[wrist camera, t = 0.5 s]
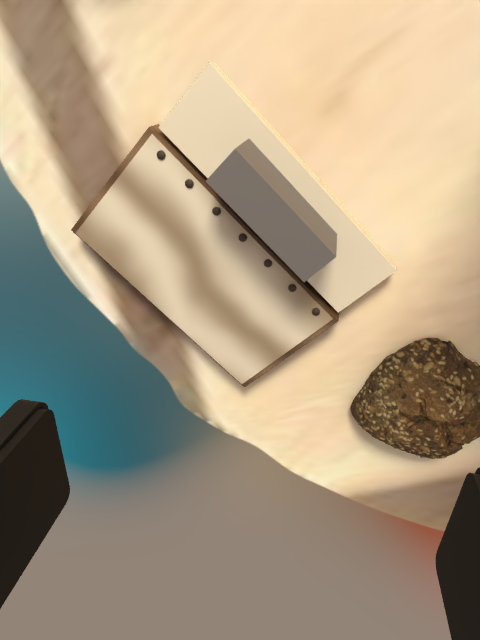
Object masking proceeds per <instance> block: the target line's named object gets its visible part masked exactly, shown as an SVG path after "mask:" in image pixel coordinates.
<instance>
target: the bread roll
mask: <svg viewBox="0 0 480 640" xmlns="http://www.w3.org/2000/svg"><path fill="white" fill-rule="evenodd" d="M351 412H352V415H353V417H354V418H355V420H356V421H357V422H358V424H359V425H360V426H361V427H362V428H363V429H364V430H366V431H367V432H368V433H369V434H371V436H372V437H374V438H376V439H378V440H380V441H383V442H385V443H386V444H388V445H391V446H392V447H394V448H398V449H400V450H402V451H406V452H408V453H412V454H415V455H420V457H427V458H431V459H435V458H445V457H447V456H449V455H452V454H455V453H456V452H457V451H459V450H460V449H462V445H464V443H468V444H469V443H470V442H471V441H472V440H474V439H477V438H478V437H480V366H479V365H478V364H477V363H476V362H472V361H470V360H468V359H466V358H465V357H464V356H463V355H462V354H461V353H460V352H459V351H457V349H456V347H455V346H454V345H453V344H452V343H451V342H450V341H449V342H445V341H440V340H439V339H437V338H426V339H421V340H419V341H414V342H413V343H411V344H409V345H407V346H405V347H404V348H402V349H400V350H398V351H397V352H396V353H395V354H391V355H389V356H387V357H386V358H385V359H384V360H383V362H382V363H381V364H379V366H378V367H377V368H376V369H375V370H374V371H373V372H372V373H371V375H370V377H369V378H368V380H367V381H366V383H365V386H364V387H363V388H362V389H361V390H360V392H359V393H358V394H357V396H356V397H355V399H354V400H353V403H352V405H351Z"/></svg>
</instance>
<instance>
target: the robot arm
mask: <svg viewBox="0 0 480 640" xmlns="http://www.w3.org/2000/svg"><path fill="white" fill-rule="evenodd" d="M69 493H70V486H69V481H68V477H67V472H66V468H65V463H64V459H63V454H62V449H61V445H60V440H59V435H58V431H57V426H56V422H55V417H54V413H53V411H52V410H49V409H48V406H47V405H46V404H45V403H43V402H36V401H29V400H23V399H21V400H18V401H17V402H15V403H14V404H13V405H12V406H11V407H10V408H9V409H8V410H7V411H6V412H5V414H4V415H2V416H1V417H0V608H1V607H2V605H3V604H4V602H5V600H6V599H7V597H8V596H9V594H10V592H11V591H12V589H13V588H14V586H15V584H16V583H17V581H18V580H19V578H20V576H21V575H22V573H23V571H24V570H25V568H26V567H27V565H28V563H29V562H30V560H31V559H32V557H33V556H34V554H35V552H36V551H37V549H38V547H39V546H40V544H41V543H42V541H43V539H44V538H45V536H46V535H47V533H48V531H49V530H50V528H51V526H52V525H53V523H54V522H55V520H56V519H57V517H58V515H59V514H60V512H61V511H62V509H63V507H64V506H65V504H66V502H67V500H68V498H69ZM436 570H437V575H438V580H439V584H440V588H441V593H442V598H443V602H444V607H445V611H446V615H447V620H448V624H449V629H450V634H451V638H452V640H480V468H478V469H477V471H476V472H475V474H474V473H469V474H467V476H466V478H465V481H464V483H463V486H462V489H461V491H460V494H459V496H458V499H457V501H456V504H455V507H454V509H453V512H452V514H451V517H450V519H449V522H448V524H447V527H446V530H445V532H444V535H443V537H442V540H441V542H440V545H439V547H438V550H437V553H436Z"/></svg>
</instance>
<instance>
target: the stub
mask: <svg viewBox="0 0 480 640" xmlns="http://www.w3.org/2000/svg"><path fill="white" fill-rule="evenodd" d="M159 129H160V130H161V131H162V132H163V133H164V134H165V135H166V136H167V137H168V138H169V139H170V140H171V141H172V142H173V143H174V144H175V145H176V146H177V147H178V148H179V149H180V150H181V151H182V152H183V154H184V155H185V156H186V157H187V158H188V159H189V160H190V161H191V162H192V163H193V164H194V165H195V166H196V167H197V168H198V169H199V170H200V171H201V172H202V173H203V174H204V175H205V176H206V177H207V178H208V179H207V180H206V182H207V183H208V184H209V185H210V186H211V187H212V189H213V190H214V191H215V192H216V193H217V194H218V195H219V196H220V197H221V198H222V199H223V200H224V201H225V202H226V203H227V204H228V205H229V206H230V207H231V208H232V209H233V210H234V211H235V212H236V213H237V214H238V215H239V216H240V217H241V218H242V219H243V220H244V221H245V222H246V223H247V224H248V225H249V226H250V227H251V229H252V230H253V231H254V232H255V233H256V234H257V235H258V236H259V237H260V238H261V239H262V240H263V241H264V242H265V243H266V244H267V245H268V246H269V247H270V248H271V249H272V250H273V251H274V252H275V253H276V254H277V255H278V256H279V257H280V258H281V259H282V260H283V261H284V262H285V263H286V264H287V265H288V266H289V267H290V269H291V270H292V271H293V272H294V273H295V274H296V275H297V276H298V277H299V278H300V279H301V280H302V281H303V282H305V281H308V282H309V283H310V284H311V285H312V286H313V287H314V288H315V289H316V290H317V291H318V292H319V293H320V295H321V296H322V297H323V298H324V299H325V300H326V301H327V302H328V303H329V304H330V305H331V306H332V307H333V308H334V309H335V310H336V311H337V312H338V313H339V312H340V311H341V310H343V309H344V308H345V307H347V306H348V305H350V304H351V303H352V302H354V301H355V300H357V299H358V298H359V297H361V296H362V295H364V294H365V293H366V292H368V291H369V290H370V289H372V288H373V287H375V286H376V285H377V284H379V283H380V282H382V281H383V280H384V279H386V278H387V277H389V276H390V275H391V274H393V273H394V272H395V271H397V270H396V267H395V263H394V262H393V261H392V260H391V259H390V258H389V256H388V255H387V254H386V253H385V252H384V251H383V250H382V249H381V247H380V246H379V245H378V244H377V243H376V242H375V241H374V240H373V239H372V237H371V236H370V235H369V234H368V233H367V232H366V231H365V230H364V229H363V227H362V226H361V225H360V224H359V223H358V222H357V221H356V220H355V219H354V217H353V216H352V215H351V214H350V213H349V212H348V211H347V210H346V209H345V207H344V206H343V205H342V204H341V203H340V202H339V201H338V200H337V198H336V197H335V196H334V195H333V194H332V193H331V192H330V191H329V190H328V188H327V187H326V186H325V185H324V184H323V183H322V182H321V181H320V180H319V178H318V177H317V176H316V175H315V174H314V173H313V172H312V171H311V170H310V168H309V167H308V166H307V165H306V164H305V163H304V162H303V161H302V160H301V158H300V157H299V156H298V155H297V154H296V153H295V152H294V151H293V149H292V148H291V147H290V146H289V145H288V144H287V143H286V142H285V141H284V139H283V138H282V137H281V136H280V135H279V134H278V133H277V132H276V131H275V129H274V128H273V127H272V126H271V125H270V124H269V123H268V122H267V121H266V119H265V118H264V117H263V116H262V115H261V114H260V113H259V112H258V111H257V109H256V108H255V107H254V106H253V105H252V104H251V103H250V102H249V100H248V99H247V98H246V97H245V96H244V95H243V94H242V93H241V92H240V90H239V89H238V88H237V87H236V86H235V85H234V84H233V83H232V82H231V80H230V79H229V78H228V77H227V76H226V75H225V74H224V73H223V72H222V70H221V69H220V68H219V67H218V66H217V65H216V64H215V63H212V62H209V63H208V64H207V65H206V67H205V68H204V69H203V71H202V72H201V73H200V74H199V76H198V77H197V78H196V80H195V81H194V82H193V83H192V85H191V86H190V87H189V89H188V90H187V91H186V93H185V94H184V95H183V96H182V98H181V99H180V100H179V102H178V103H177V104H176V105H175V107H174V108H173V109H172V111H171V112H170V113H169V115H168V116H167V117H166V118H165V120H164V121H163V122H162V124H161V125H160V126H159Z"/></svg>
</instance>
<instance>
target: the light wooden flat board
mask: <svg viewBox="0 0 480 640" xmlns="http://www.w3.org/2000/svg"><path fill="white" fill-rule="evenodd" d="M159 126H160V125H159V124H158V125H154V126H151V127H149V128H148V129H147V130H146V132H145V133H144V134H143V136H142V137H141V138H140V140H139V141H138V142H137V144H136V145H135V146H134V148H133V149H132V150H131V152H130V153H129V154H128V155H127V157H126V158H125V159H124V161H123V162H122V163H121V165H120V166H119V167H118V169H117V170H116V171H115V173H114V174H113V175H112V177H111V178H110V179H109V181H108V182H107V183H106V185H105V186H104V187H103V188H102V190H101V191H100V192H99V194H98V195H97V196H96V198H95V199H94V200H93V202H92V203H91V204H90V206H89V207H88V208H87V210H86V211H85V212H84V214H83V215H82V216H81V218H80V219H79V220H78V221H77V223H76V224H75V225H74V227H73V228H72V229H71V230H72V231H73V232H74V233H75V234H76V235H77V236H78V237H79V238H81V239H82V240H83V241H84V242H85V243H86V244H87V245H88V246H89V247H90V248H92V249H93V250H94V251H95V252H96V253H97V254H98V255H99V256H100V257H101V258H103V259H104V260H105V261H106V262H107V263H108V264H109V265H110V266H111V267H112V268H114V269H115V270H116V271H117V272H118V273H119V274H120V275H121V276H122V277H123V278H125V279H126V280H127V281H128V282H129V283H130V284H131V285H132V286H133V287H134V288H136V289H137V290H138V291H139V292H140V293H141V294H142V295H143V296H144V297H145V298H147V299H148V300H149V301H150V302H151V303H152V304H153V305H154V306H155V307H156V308H158V309H159V310H160V311H161V312H162V313H163V314H164V315H165V316H166V317H167V318H169V319H170V320H171V321H172V322H173V323H174V324H175V325H176V326H177V327H178V328H180V329H181V330H182V331H183V332H184V333H185V334H186V335H187V336H188V337H189V338H191V339H192V340H193V341H194V342H195V343H196V344H197V345H198V346H199V347H200V348H202V349H203V350H204V351H205V352H206V353H207V354H208V355H209V356H210V357H211V358H213V359H214V360H215V361H216V362H217V363H218V364H219V365H220V366H221V367H222V368H224V369H225V370H226V371H227V372H228V373H229V374H230V375H231V376H232V377H233V378H235V379H236V380H237V381H238V382H239V383H240V384H241V385H242V386H243V387H246V386H247V385H248V384H250V383H251V382H253V381H254V380H256V379H257V378H258V377H260V376H261V375H263V374H264V373H265V372H267V371H268V370H270V369H271V368H272V367H274V366H275V365H277V364H278V363H280V362H281V361H282V360H284V359H285V358H287V357H288V356H289V355H291V354H292V353H294V352H295V351H296V350H298V349H299V348H301V347H302V346H304V345H305V344H306V343H308V342H309V341H311V340H312V339H313V338H315V337H316V336H318V335H319V334H320V333H322V332H323V331H325V330H326V329H327V328H329V327H330V326H332V325H333V324H335V323H336V322H337V321H338V314H339V313H338V312H337V311H336V310H335V309H334V308H333V307H332V306H331V305H330V304H329V303H328V302H327V301H326V300H325V299H324V298H323V297H322V296H321V295H320V293H319V292H318V291H317V290H316V289H315V288H314V287H313V286H312V285H311V284H310V283H309V282H308V281H305V282H303V281H302V280H301V279H300V278H299V277H298V276H297V275H296V274H295V273H294V272H293V271H292V270H291V269H290V267H289V266H288V265H287V264H286V263H285V262H284V261H283V260H282V259H281V258H280V257H279V256H278V255H277V254H276V253H275V252H274V251H273V250H272V249H271V248H270V247H269V246H268V245H267V244H266V243H265V242H264V241H263V240H262V239H261V238H260V237H259V236H258V235H257V234H256V233H255V232H254V231H253V230H252V229H251V227H250V226H249V225H248V224H247V223H246V222H245V221H244V220H243V219H242V218H241V217H240V216H239V215H238V214H237V213H236V212H235V211H234V210H233V209H232V208H231V207H230V206H229V205H228V204H227V203H226V202H225V201H224V200H223V199H222V198H221V197H220V196H219V195H218V194H217V193H216V192H215V191H214V190H213V189H212V187H211V186H210V185H209V184H208V183H207V182H206V180H207V179H208V178H207V177H206V176H205V175H204V174H203V173H202V172H201V171H200V170H199V169H198V168H197V167H196V166H195V165H194V164H193V163H192V162H191V161H190V160H189V159H188V158H187V157H186V156H185V155H184V154H183V152H182V151H181V150H180V149H179V148H178V147H177V146H176V145H175V144H174V143H173V142H172V141H171V140H170V139H169V138H168V137H167V136H166V135H165V134H164V133H163V132H162V131H161V130H160V129H159Z"/></svg>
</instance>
